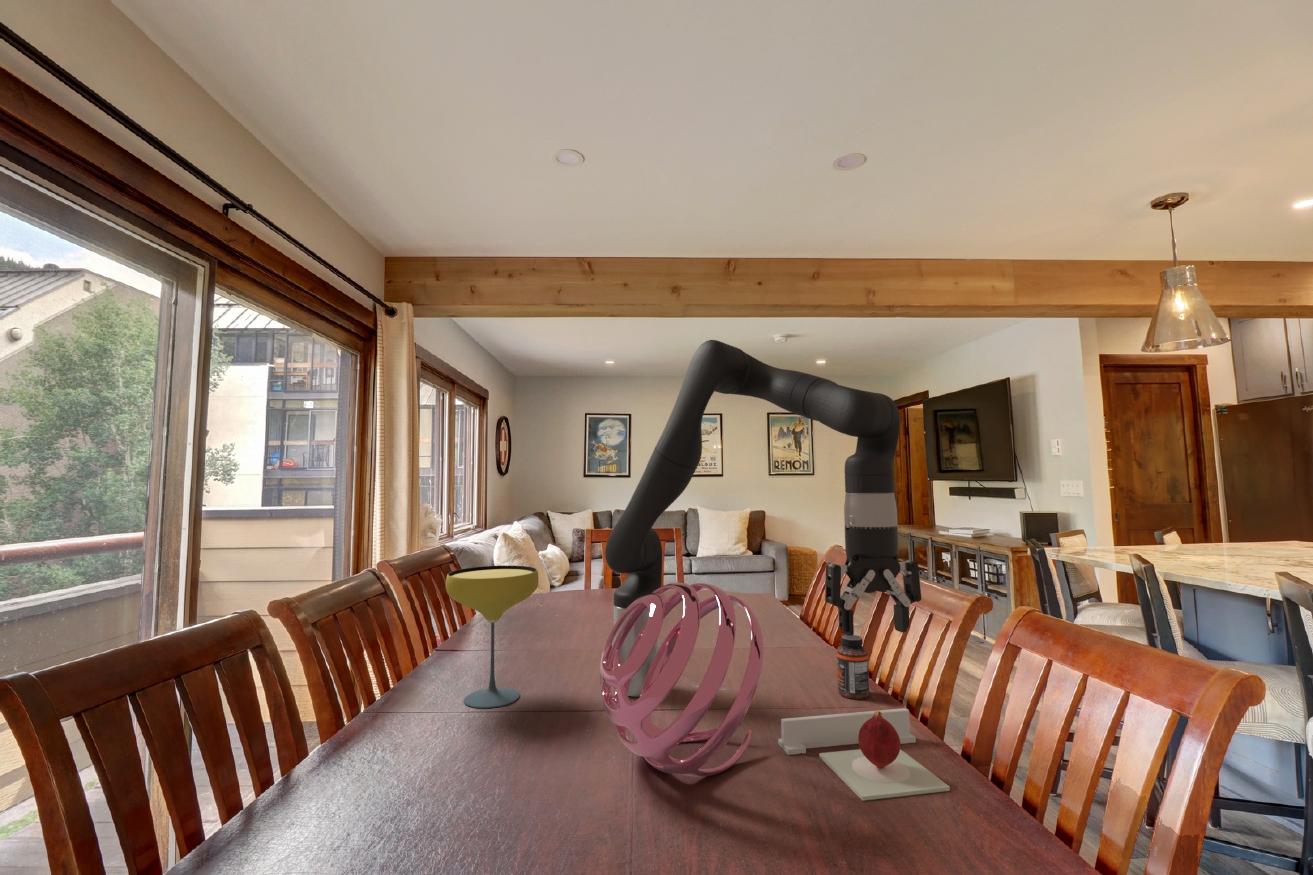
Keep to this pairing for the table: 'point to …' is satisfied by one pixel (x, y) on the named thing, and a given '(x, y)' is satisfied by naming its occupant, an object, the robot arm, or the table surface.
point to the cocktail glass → (492, 612)
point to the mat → (882, 775)
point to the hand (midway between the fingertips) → (874, 632)
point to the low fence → (837, 729)
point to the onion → (879, 741)
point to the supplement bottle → (852, 668)
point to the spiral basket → (668, 671)
